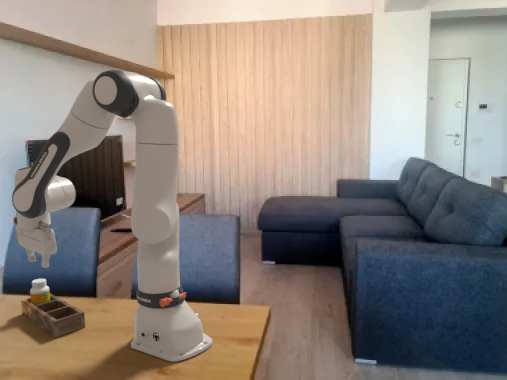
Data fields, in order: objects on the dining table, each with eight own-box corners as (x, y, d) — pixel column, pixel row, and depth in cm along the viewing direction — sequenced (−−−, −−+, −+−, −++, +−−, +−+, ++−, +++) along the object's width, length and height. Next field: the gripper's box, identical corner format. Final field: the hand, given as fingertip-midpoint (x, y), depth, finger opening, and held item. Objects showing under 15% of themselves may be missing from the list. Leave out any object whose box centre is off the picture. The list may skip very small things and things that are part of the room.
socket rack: (85, 327, 132) (84, 311, 132) (55, 337, 126) (53, 321, 125) (49, 305, 148) (48, 291, 148) (21, 314, 142) (20, 299, 141)
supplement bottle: (46, 314, 139) (43, 283, 138) (28, 314, 139) (25, 283, 138) (53, 307, 145) (51, 277, 143) (37, 307, 145) (34, 277, 143)
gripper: (60, 222, 133) (64, 268, 135) (31, 214, 147) (35, 256, 149) (38, 226, 129) (42, 273, 131) (10, 217, 143) (15, 260, 145)
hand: (39, 264), depth 140 cm, fingers open, 8 cm apart
